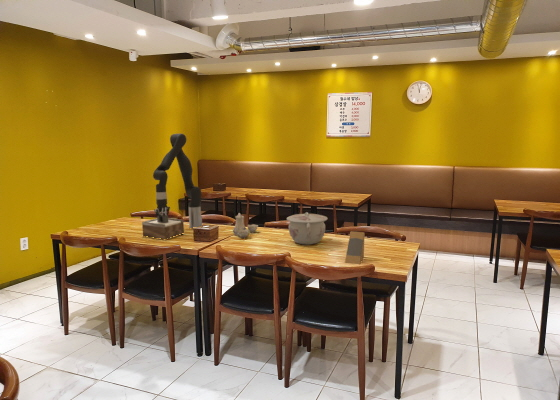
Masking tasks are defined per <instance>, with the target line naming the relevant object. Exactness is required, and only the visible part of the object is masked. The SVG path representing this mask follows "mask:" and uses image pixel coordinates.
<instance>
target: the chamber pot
mask: <svg viewBox="0 0 560 400" xmlns="http://www.w3.org/2000/svg"><path fill="white" fill-rule="evenodd" d="M286 220H287V221H289V224H288V232H289V235H290V237H291V239H292V240H293V242H294V243H297V244H298V245H303V246H305V245H306V246H312V245H315V244H318V243H320V242H321V241H322V240H323V238H324V237H325V233H326V224H325V222H326V221H327V220H328V217H327V216H325V215H322V214H318V213H317V214H316V213H309V212H308V211H306V212H305V213H299V214H298V213H296V214H293V215H290V216H288V217H286Z"/></svg>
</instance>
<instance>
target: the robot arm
mask: <svg viewBox="0 0 560 400" xmlns="http://www.w3.org/2000/svg"><path fill="white" fill-rule="evenodd" d="M169 142H170V144H171V147H172V148H171V149H170V150H169V151H168V152H167V153H166V154H165V155H164V157H163V159H162V160H161V162H160V164H159V165H158V166H157V168H155V169H154V170H153V171H154V172H153V173H152V174H153V175H152V178H153V179H154V180H155V181H158V183H157V184H156V185H155V193H156V194H155V198H156V199H155V200H156V208H155V209H153V211H154V213H155V216H156V217H157V216H158V217H159V221H160V222H162V215H167V216H169V213H170V209H171V207H170V206H167V205H168V196H167V184H168V183H167V182H168V177H169V175H168V173H167V172H166V171H168V170H169V169H171V166H172V165H173V162H174V161H175V158H176V161H177V164H178V168H179V170H180V174H181V178H182V180H183V184H184V190H185V193H186V196H187V197H188V198H190V202H188V222H189V229H190V228H192V229H191V230H194V229H193V227H199V226H202V227H203V216H202V210H201V209H202V208H201V205H202V190H201V188H200V187H199V186H196V185H194V183H193V166H192V162H191V160H190V158H189V157H188V156H187V155H186V153H185V152H184V151H183V148H184V147H185V145H186V144H187V136H186V135H185V134H184V133H173V134H171V135H170V138H169Z"/></svg>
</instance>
